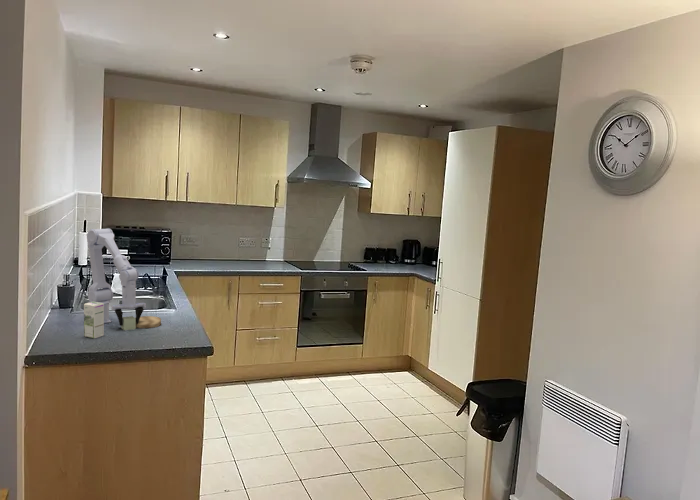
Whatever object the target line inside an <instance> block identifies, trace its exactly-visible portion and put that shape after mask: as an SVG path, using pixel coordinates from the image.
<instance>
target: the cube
mask: <svg viewBox="0 0 700 500" xmlns="http://www.w3.org/2000/svg"><path fill="white" fill-rule="evenodd" d="M120 328H121V329H122V330H123V331H130V330H132V331H133V330H136V329H137V328H136V317H135V316H133V315H130V316H122V326H120Z"/></svg>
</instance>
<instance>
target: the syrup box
mask: <svg viewBox="0 0 700 500" xmlns="http://www.w3.org/2000/svg"><path fill="white" fill-rule="evenodd" d="M104 327H105V323H104V303H98V302H90V301H88V302H86V303H83V337H85V338H91V339H97V338H101V337H104V335H105V332H104V331H105V329H104Z"/></svg>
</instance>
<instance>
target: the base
mask: <svg viewBox="0 0 700 500" xmlns="http://www.w3.org/2000/svg"><path fill="white" fill-rule="evenodd" d="M161 325H162V318H161V317H158V316H153V315H150V316H149V315H146V316H145V315H144V316H142V315H141V316H140V319H139V323H138V324H137V322H136V329H152V328H158V327H160V326H161Z"/></svg>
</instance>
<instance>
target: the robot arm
mask: <svg viewBox="0 0 700 500" xmlns="http://www.w3.org/2000/svg"><path fill="white" fill-rule="evenodd" d="M86 239H87V247H88V254H89V260H90V267H91V268H90V269H91V270H90V271H91V277H92V284H91V285H90V286H89V287H88V288H87V289H88V294H87V298H88V299H87V300H88V302H98V303H104V324H107V323H112V320H110V303H111V302H112V300H113V298H114V292H113V290H112V286H111V284H109V283H108V282H107V281H106V275H105V266H104V259H103V252H102V249H103V248H104V247H105V248H106V250H107V251H108V252H109V254H111V256H112V258H113V260H112V262H113V264H114V266H115V268H116V270H117V271H118V272H119V274H118V278H119V281H120V285H121V298H122V299H121V304H120V303H119V304H116V305H115V304H113V305H111V311H112V312H113V311H114V313H115V315H116V317H117V320H118V323H119V326H120V327H121V326H122V317H123V315H124V313H123V310H130V309H133V310H135V318H136V322H137V324H138V323H139V319H140V317H142V314H143V312H144V310H145V309H146V308H147V306H146V305H147V303H145V302H137V301H136V300H137V295H136V294H137V293H136V291H137V285H136V284H137V281H138V280H139V276H140V275H139V271H138V269H137V268H136V267H134V266H132V265H131V263H130V262H129V260H128V258H127V257H126V256H125V255H124V254H122V253H121V252H120V249H119V247H118V245H117V243H116V242H115V233H114V232H113V230H112V229H111V228H109V227H106V228H90V229H89V230H88V232H87V233H86Z"/></svg>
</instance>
